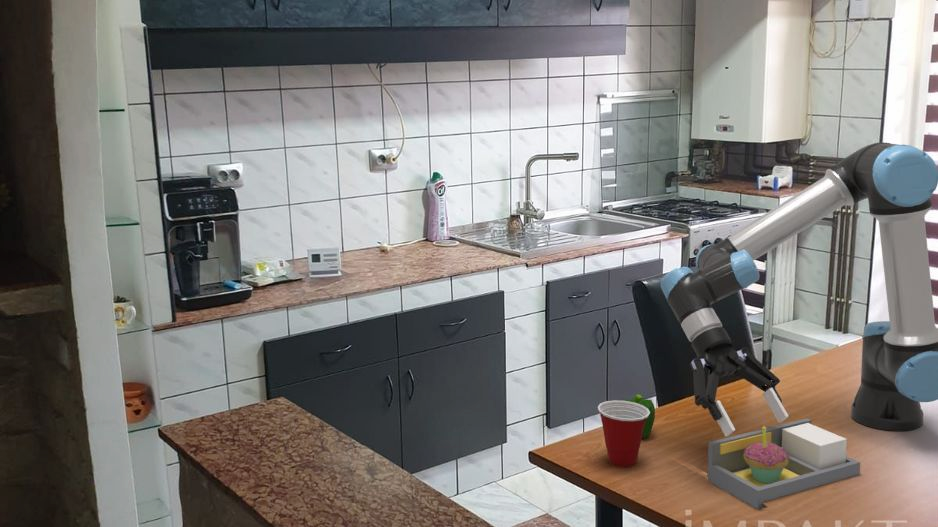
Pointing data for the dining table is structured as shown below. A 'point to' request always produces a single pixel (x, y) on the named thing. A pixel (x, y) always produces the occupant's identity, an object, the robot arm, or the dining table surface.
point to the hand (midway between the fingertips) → (757, 426)
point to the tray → (795, 477)
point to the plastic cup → (623, 430)
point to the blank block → (814, 445)
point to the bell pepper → (651, 417)
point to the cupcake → (766, 460)
